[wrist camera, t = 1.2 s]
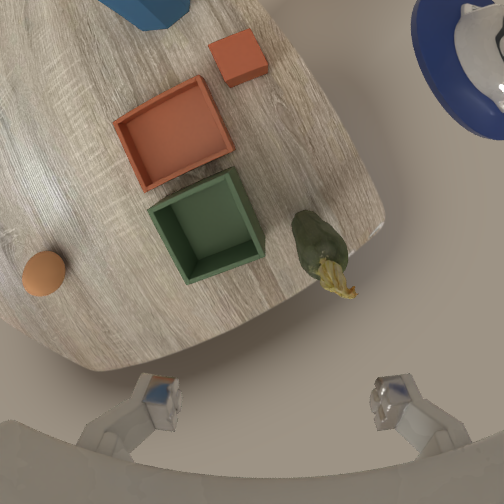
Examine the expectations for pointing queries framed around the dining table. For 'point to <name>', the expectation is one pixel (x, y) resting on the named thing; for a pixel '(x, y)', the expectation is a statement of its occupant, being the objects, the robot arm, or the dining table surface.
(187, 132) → the terracotta tray
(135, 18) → the water bottle
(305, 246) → the vegetable
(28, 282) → the egg
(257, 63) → the terracotta block
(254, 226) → the produce bin
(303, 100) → the dining table surface
